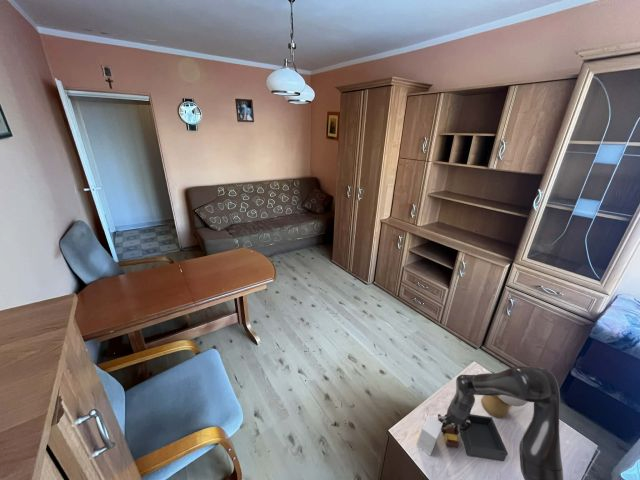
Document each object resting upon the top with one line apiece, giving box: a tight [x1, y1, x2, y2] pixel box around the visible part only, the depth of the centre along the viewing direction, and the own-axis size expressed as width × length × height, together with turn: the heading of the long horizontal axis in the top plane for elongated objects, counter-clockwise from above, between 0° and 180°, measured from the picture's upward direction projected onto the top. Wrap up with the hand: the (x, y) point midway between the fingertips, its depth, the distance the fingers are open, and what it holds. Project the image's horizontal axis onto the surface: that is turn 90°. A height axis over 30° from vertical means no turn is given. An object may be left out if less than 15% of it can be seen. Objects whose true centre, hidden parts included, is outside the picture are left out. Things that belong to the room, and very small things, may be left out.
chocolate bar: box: [442, 424, 460, 449], centre depth 119 cm, size 10×5×3 cm, turn 173°
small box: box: [415, 413, 443, 457], centre depth 113 cm, size 8×6×13 cm
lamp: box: [480, 395, 528, 419], centre depth 125 cm, size 15×14×25 cm
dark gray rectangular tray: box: [459, 413, 509, 462], centre depth 117 cm, size 15×15×6 cm
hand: (448, 432), depth 119 cm, fingers closed on chocolate bar, 4 cm apart
